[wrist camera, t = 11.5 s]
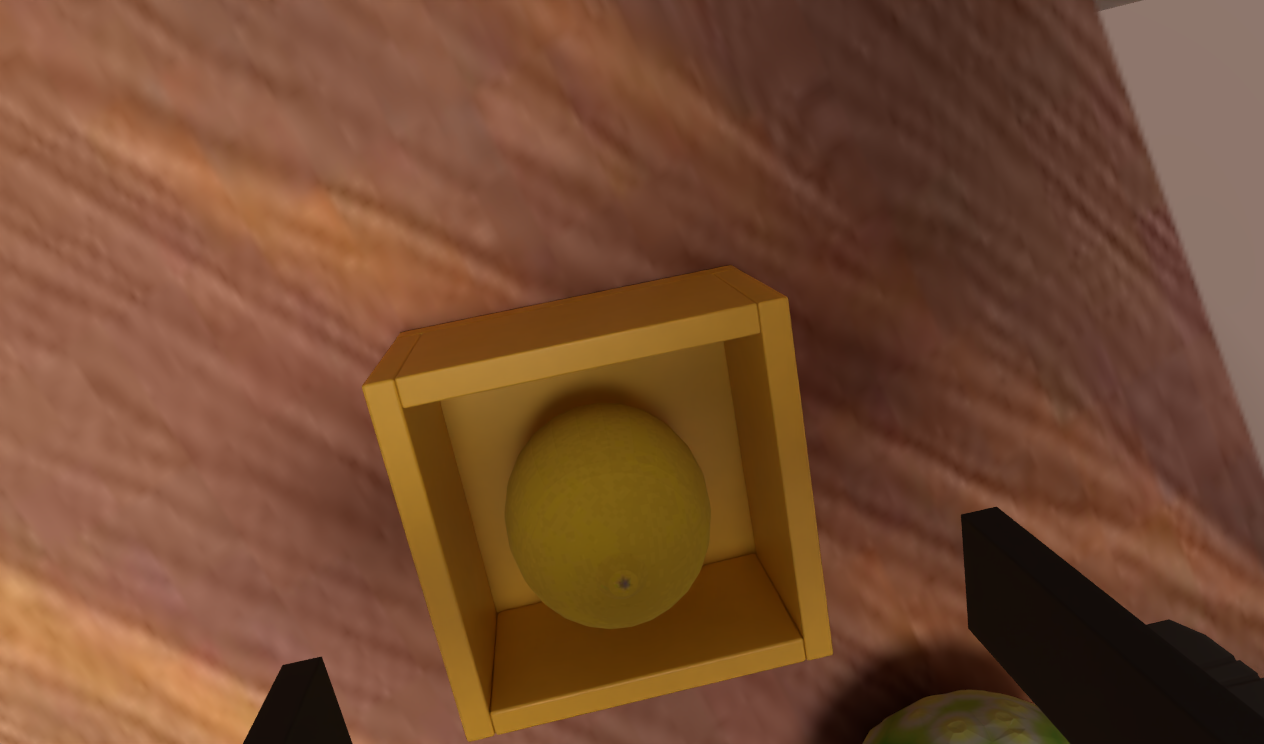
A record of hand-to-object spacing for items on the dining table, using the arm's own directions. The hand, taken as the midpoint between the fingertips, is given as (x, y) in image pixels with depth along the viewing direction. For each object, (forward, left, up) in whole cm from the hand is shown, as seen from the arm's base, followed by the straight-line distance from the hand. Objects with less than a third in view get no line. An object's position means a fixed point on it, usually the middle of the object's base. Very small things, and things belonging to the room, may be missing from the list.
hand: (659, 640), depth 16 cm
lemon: (0, 0, -10) cm, 10 cm away
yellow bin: (0, 0, -11) cm, 11 cm away
